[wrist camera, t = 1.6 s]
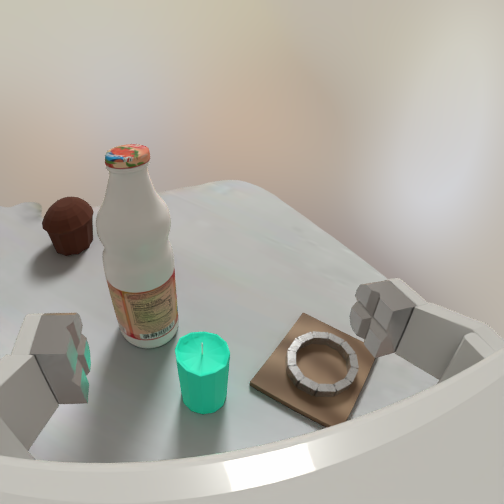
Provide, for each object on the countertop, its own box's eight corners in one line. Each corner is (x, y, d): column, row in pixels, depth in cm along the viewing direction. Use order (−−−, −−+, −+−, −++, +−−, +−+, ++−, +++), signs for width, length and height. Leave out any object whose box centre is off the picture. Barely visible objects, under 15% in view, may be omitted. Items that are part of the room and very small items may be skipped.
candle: (172, 399, 39) (161, 348, 32) (197, 369, 43) (194, 313, 36) (211, 422, 37) (210, 377, 30) (234, 389, 41) (241, 337, 34)
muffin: (72, 224, 67) (64, 185, 61) (108, 233, 66) (101, 192, 60) (40, 253, 58) (27, 212, 52) (75, 266, 57) (64, 223, 50)
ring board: (338, 433, 37) (341, 430, 36) (249, 385, 42) (250, 381, 41) (376, 353, 48) (378, 349, 47) (301, 316, 53) (303, 312, 53)
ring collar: (337, 408, 39) (341, 403, 38) (272, 374, 43) (273, 368, 42) (363, 357, 46) (367, 350, 45) (305, 328, 50) (307, 321, 49)
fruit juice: (109, 334, 46) (66, 161, 29) (141, 296, 53) (122, 133, 36) (160, 359, 44) (134, 175, 27) (189, 316, 51) (187, 143, 34)
